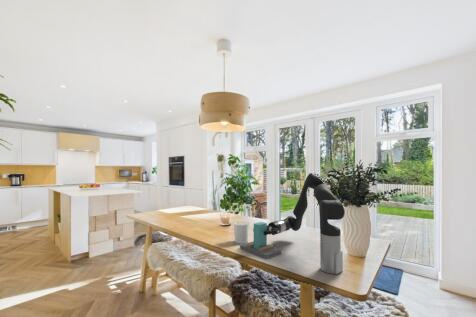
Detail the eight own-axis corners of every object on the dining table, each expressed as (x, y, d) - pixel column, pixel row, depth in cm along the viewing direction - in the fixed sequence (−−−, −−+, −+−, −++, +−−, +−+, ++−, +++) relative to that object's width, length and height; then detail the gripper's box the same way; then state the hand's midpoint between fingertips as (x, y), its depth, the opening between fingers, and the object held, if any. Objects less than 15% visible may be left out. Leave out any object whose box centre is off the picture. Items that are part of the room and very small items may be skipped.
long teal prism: (266, 247, 144) (266, 223, 144) (259, 249, 140) (259, 225, 140) (261, 245, 147) (261, 221, 147) (253, 247, 143) (253, 223, 143)
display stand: (281, 253, 139) (281, 247, 139) (267, 259, 131) (267, 252, 131) (254, 244, 156) (254, 238, 156) (240, 248, 148) (240, 242, 148)
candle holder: (231, 240, 163) (231, 222, 164) (245, 238, 167) (245, 221, 167) (236, 244, 154) (236, 225, 154) (251, 243, 158) (251, 224, 158)
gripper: (268, 219, 159) (250, 223, 148) (286, 223, 148) (267, 227, 138) (268, 231, 159) (250, 235, 148) (286, 235, 148) (267, 241, 137)
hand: (258, 231), depth 143 cm, fingers open, 8 cm apart
